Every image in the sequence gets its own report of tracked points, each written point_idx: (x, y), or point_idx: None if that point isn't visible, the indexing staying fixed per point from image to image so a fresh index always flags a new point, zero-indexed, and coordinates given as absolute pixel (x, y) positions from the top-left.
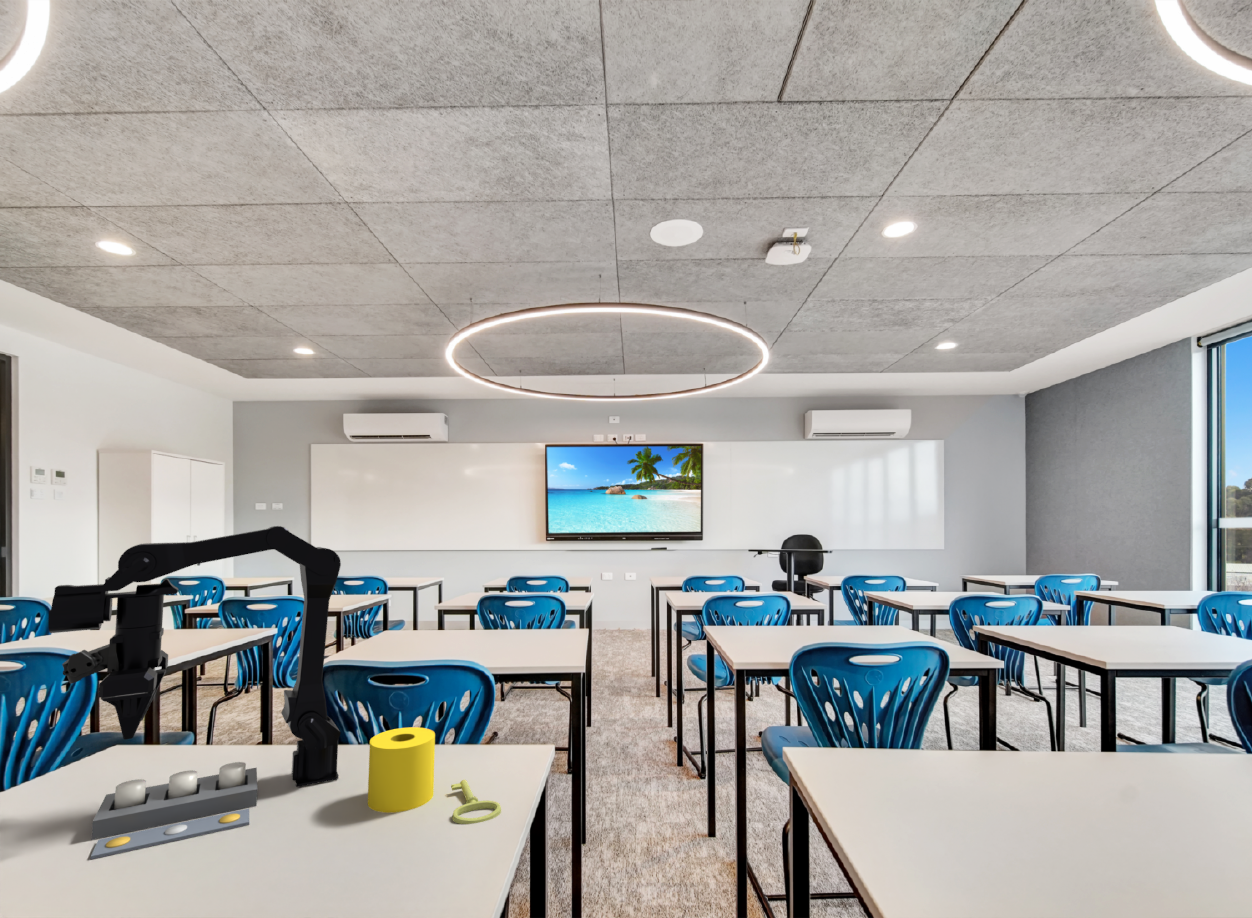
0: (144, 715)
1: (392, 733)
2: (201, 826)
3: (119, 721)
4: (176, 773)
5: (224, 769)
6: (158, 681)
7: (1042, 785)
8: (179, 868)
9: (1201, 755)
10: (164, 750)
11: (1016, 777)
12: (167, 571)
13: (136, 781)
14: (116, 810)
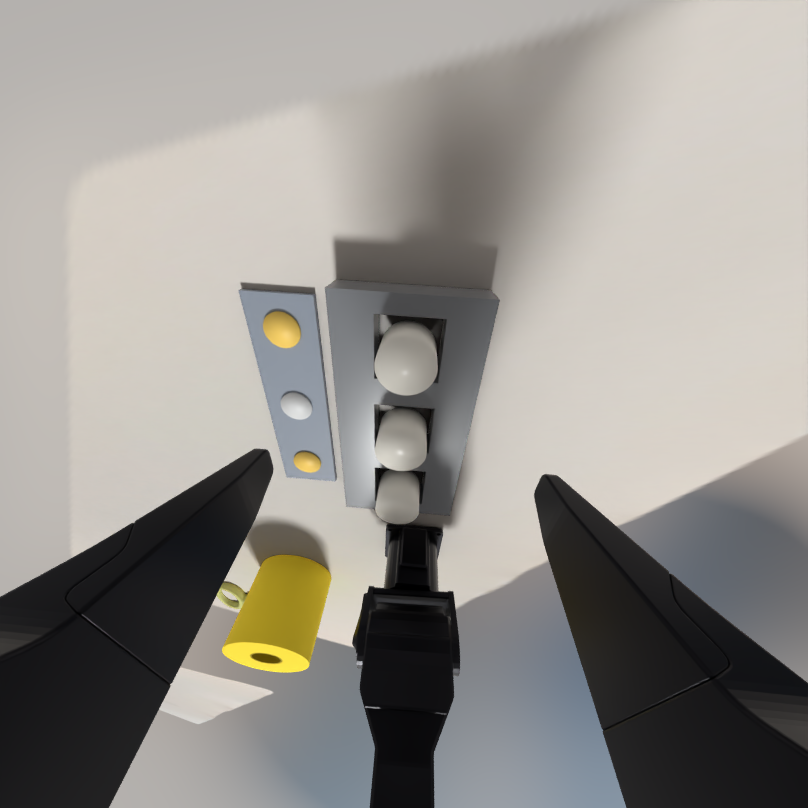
0: (539, 518)
1: (290, 657)
2: (296, 433)
3: (154, 510)
4: (421, 443)
5: (388, 501)
6: (626, 783)
7: (186, 699)
8: (175, 404)
9: (201, 722)
10: None
11: (198, 700)
12: None
13: (420, 378)
14: (366, 329)
